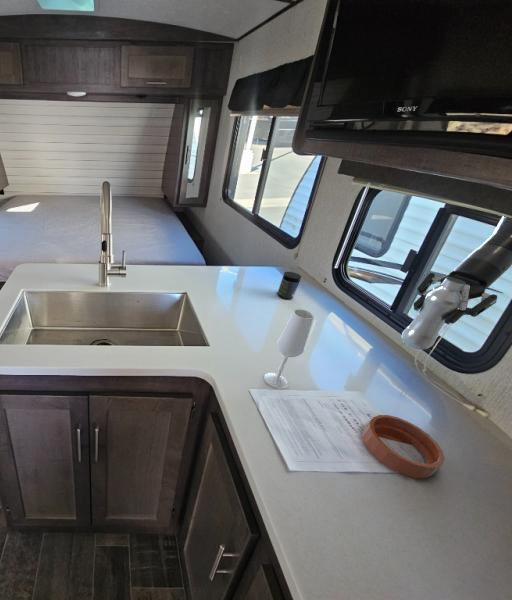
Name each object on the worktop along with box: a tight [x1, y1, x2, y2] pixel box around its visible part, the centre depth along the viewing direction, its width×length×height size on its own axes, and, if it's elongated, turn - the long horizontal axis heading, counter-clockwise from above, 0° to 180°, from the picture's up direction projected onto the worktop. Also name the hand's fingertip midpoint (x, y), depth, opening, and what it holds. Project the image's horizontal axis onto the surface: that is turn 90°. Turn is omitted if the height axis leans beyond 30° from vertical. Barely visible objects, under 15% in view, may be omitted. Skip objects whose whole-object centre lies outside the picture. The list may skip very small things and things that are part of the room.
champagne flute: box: [263, 308, 315, 390], centre depth 90 cm, size 7×7×24 cm
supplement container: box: [277, 271, 302, 300], centre depth 139 cm, size 7×7×10 cm
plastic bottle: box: [400, 277, 466, 350], centre depth 83 cm, size 6×7×20 cm
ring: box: [361, 414, 445, 479], centre depth 75 cm, size 14×14×6 cm
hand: (430, 315), depth 82 cm, fingers closed on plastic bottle, 6 cm apart
